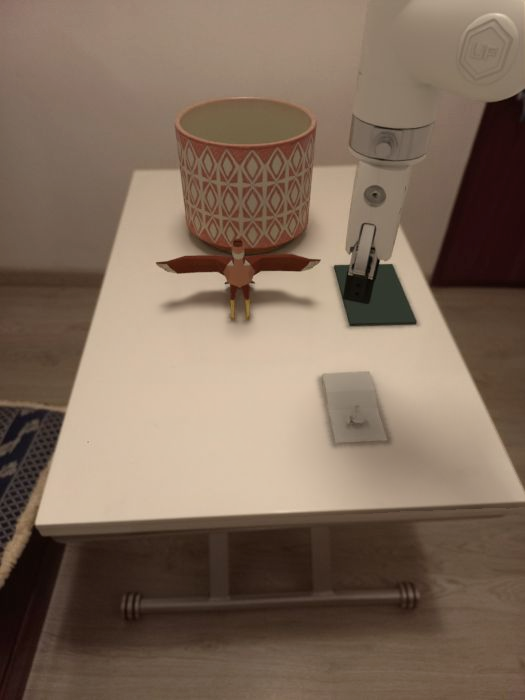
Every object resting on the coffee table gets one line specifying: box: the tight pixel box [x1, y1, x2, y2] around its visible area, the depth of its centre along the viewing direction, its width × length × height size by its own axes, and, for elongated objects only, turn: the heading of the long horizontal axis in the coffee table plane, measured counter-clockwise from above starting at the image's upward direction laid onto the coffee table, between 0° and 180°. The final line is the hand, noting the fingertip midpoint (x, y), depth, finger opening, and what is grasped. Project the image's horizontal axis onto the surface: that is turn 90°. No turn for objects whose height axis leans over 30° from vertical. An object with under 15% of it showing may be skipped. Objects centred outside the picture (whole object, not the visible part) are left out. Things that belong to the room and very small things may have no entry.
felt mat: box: [333, 263, 418, 327], centre depth 89 cm, size 12×18×1 cm, turn 3°
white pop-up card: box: [321, 370, 388, 444], centre depth 68 cm, size 7×12×2 cm, turn 4°
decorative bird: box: [155, 239, 322, 320], centre depth 81 cm, size 28×18×15 cm, turn 92°
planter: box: [174, 95, 318, 255], centre depth 97 cm, size 27×27×24 cm
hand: (359, 288), depth 57 cm, fingers open, 3 cm apart
